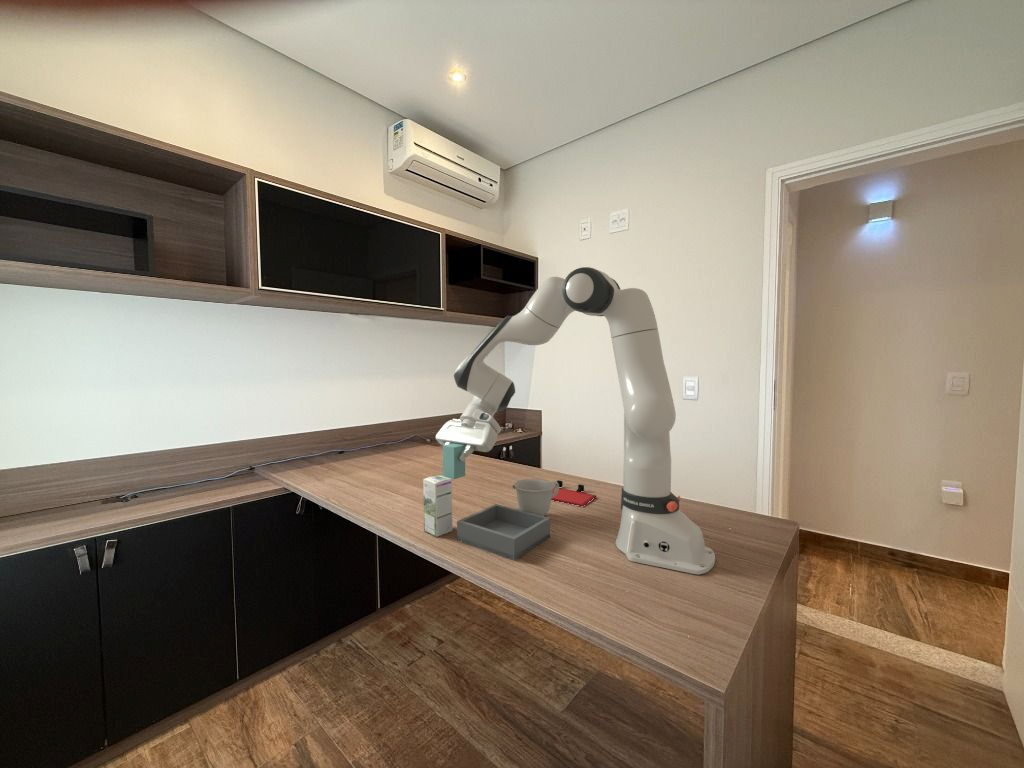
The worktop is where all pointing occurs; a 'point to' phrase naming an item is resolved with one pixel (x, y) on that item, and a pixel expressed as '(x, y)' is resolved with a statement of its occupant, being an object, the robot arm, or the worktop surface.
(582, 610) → the worktop surface
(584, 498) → the red flat slab
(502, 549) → the tote
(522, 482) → the teacup
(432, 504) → the syrup box
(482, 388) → the robot arm
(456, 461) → the teal block
